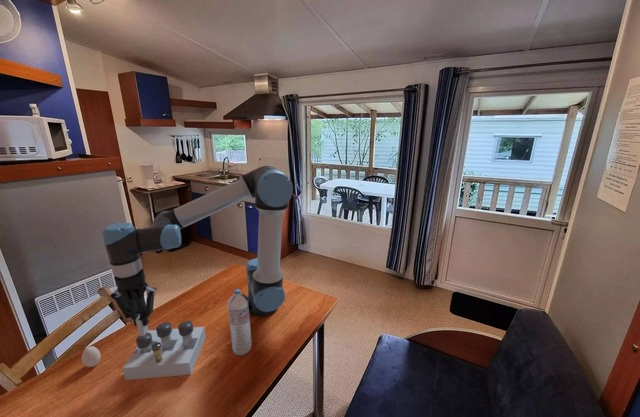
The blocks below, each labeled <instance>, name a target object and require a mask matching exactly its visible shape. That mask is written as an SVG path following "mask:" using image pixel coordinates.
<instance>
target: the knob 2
mask: <svg viewBox="0 0 640 417" xmlns="http://www.w3.org/2000/svg"><path fill="white" fill-rule="evenodd" d="M193 324H194V323H193V322H192V321H191V320H185V321H183V322H181V323H179V325H178V326H177V328H178V330H179V335H181V336H182V339H183V344H184V346H189V345H191V344H192V343H193V338H192V332H193V327H194V325H193Z"/></svg>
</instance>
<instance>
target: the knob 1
mask: <svg viewBox="0 0 640 417" xmlns="http://www.w3.org/2000/svg"><path fill="white" fill-rule="evenodd" d="M152 341H153V340H152V335H151V333H146V334H145V335H144V336H139V335H138V336H137V337H136V339H135V343H136V348H137V347H138V348H141V352H142V353H148V352H151V350H152V349H151V343H152Z"/></svg>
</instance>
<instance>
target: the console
mask: <svg viewBox="0 0 640 417" xmlns="http://www.w3.org/2000/svg"><path fill="white" fill-rule="evenodd" d="M147 333H151V335H152V340H153V341H152V343H151V346H152V345H153V344H154V343H157V342H160V343H161V338H160V337H158V336H157V331H156V329H151V330H150V329H148V331H147ZM192 338H193V343H192V344H191V345H189V346H184V344H183V339H182V336H181V335H179V330H178V327H177V328H172V332H171V340H172V344H171V345H170V346H169V347H167V348H163V347H162V343H161V353H162V358H163V360H162V361H161V362H159V363H156V361H155V357H154V352H153V351H152V350H151V352H148V353H142V352H141V348H138V347H137V346H136V348H135V349H134V351H133V352H132V354H131V355H130V357H128V360H127V361H126V363H125V364H124V365H123V367H122V372H123V375H124V379H125V381H132V380H143V379H154V378H164V377H167V378H169V377H176V376H188V375H189V376H190V375H192V374H193V371H194V368H195V366H196V363H197V361H198V359H199V356H200V354H201V350H202V348H203V345H204V343H205V340H206V338H207V336H206V328H205V326H195V327H194V326H193V332H192Z"/></svg>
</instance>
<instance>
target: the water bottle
mask: <svg viewBox="0 0 640 417" xmlns="http://www.w3.org/2000/svg"><path fill="white" fill-rule="evenodd" d="M233 293H234V294H232V295H231V296H230V297H229V299H228V301H227V307H228V315H229V316H228V317H229V326H230V327H229V328H230V337H231V346H232V347H231V348H232V352H233V354H234V355H236V356H245V355H247V354H248V353H249V352H250V351H251V349H252V344H253V342H252V331H251V328H252V327H251V318H250V314H249V307H248V303H249V302H248V298H247V295H246V294H244V293H242V292H241V290H240V289H239V288H237V289H235V290H234V291H233Z"/></svg>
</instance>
